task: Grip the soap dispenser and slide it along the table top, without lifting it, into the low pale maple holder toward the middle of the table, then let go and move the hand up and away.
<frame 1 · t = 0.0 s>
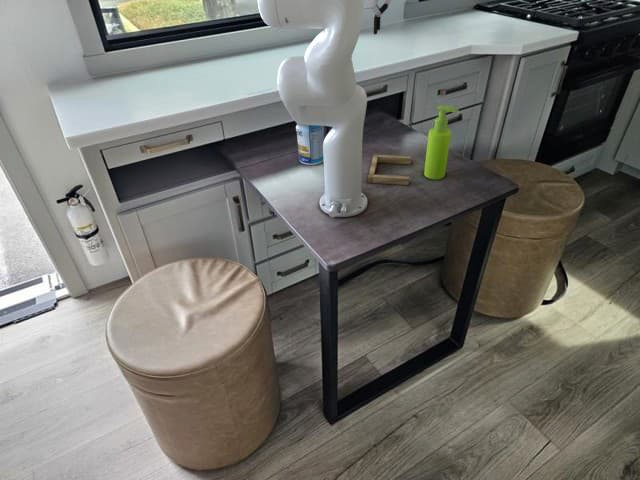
hand: (356, 33, 110), 37 cm above the table, tool pointing down, fingers open, 9 cm apart
blue labeled canister: (312, 160, 135), on the table
soap dispenser: (436, 175, 124), on the table
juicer: (340, 137, 148), on the table
holder: (389, 172, 126), on the table
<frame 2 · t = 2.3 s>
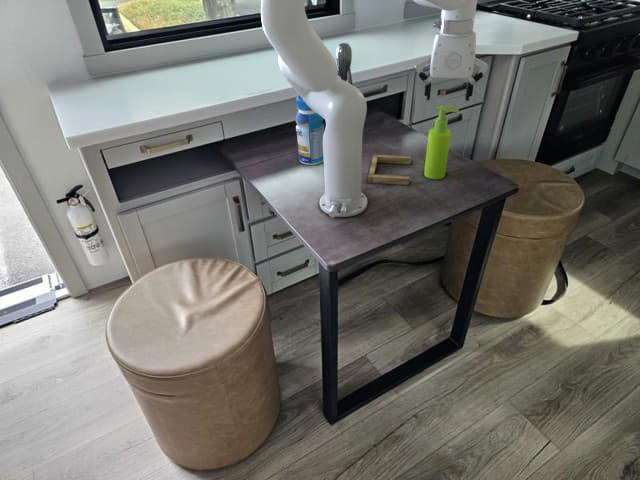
hand: (447, 98, 110), 22 cm above the table, tool pointing down, fingers open, 9 cm apart
nothing on the table moved.
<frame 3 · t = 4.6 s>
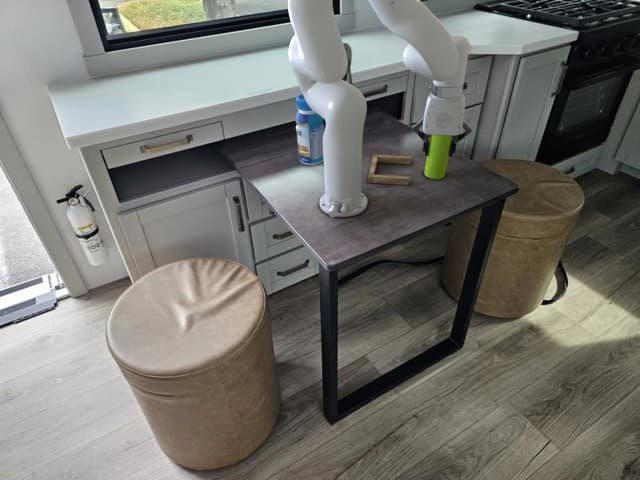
hand: (438, 154, 120), 7 cm above the table, tool pointing down, fingers closed on soap dispenser, 6 cm apart
soap dispenser: (436, 175, 124), on the table, touching gripper
everything else where it was.
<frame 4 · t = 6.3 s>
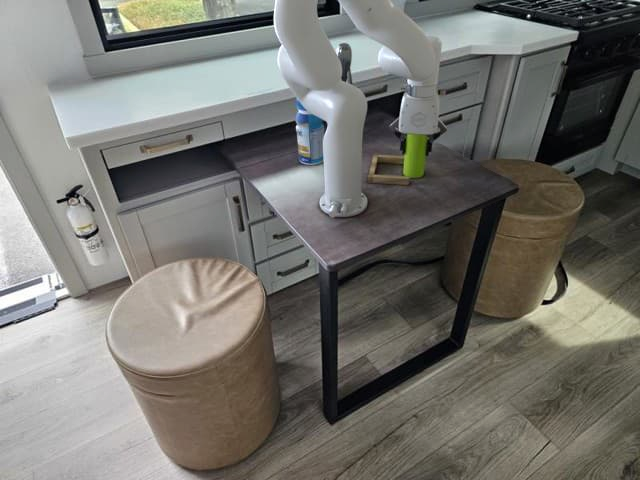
hand: (415, 152, 121), 7 cm above the table, tool pointing down, fingers closed on soap dispenser, 6 cm apart
soap dispenser: (415, 174, 125), on the table, touching gripper
everything else where it was.
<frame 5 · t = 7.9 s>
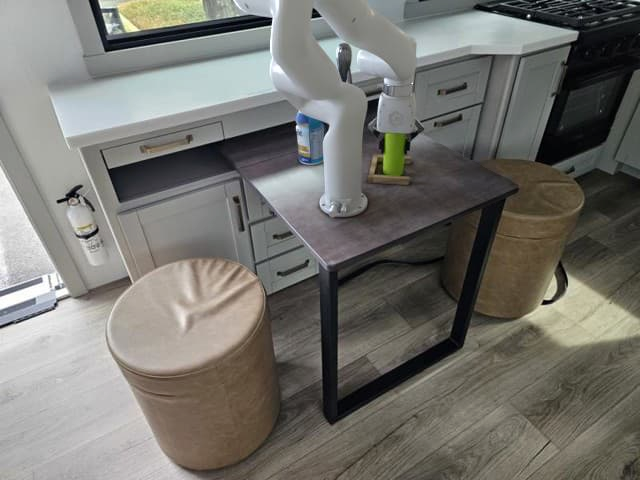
hand: (394, 151, 122), 7 cm above the table, tool pointing down, fingers closed on soap dispenser, 6 cm apart
soap dispenser: (394, 172, 126), on the table, touching gripper
everything else where it was.
when the fingers open (7 cm above the table, at t = 8.5 s): soap dispenser stays where it is, on the table.
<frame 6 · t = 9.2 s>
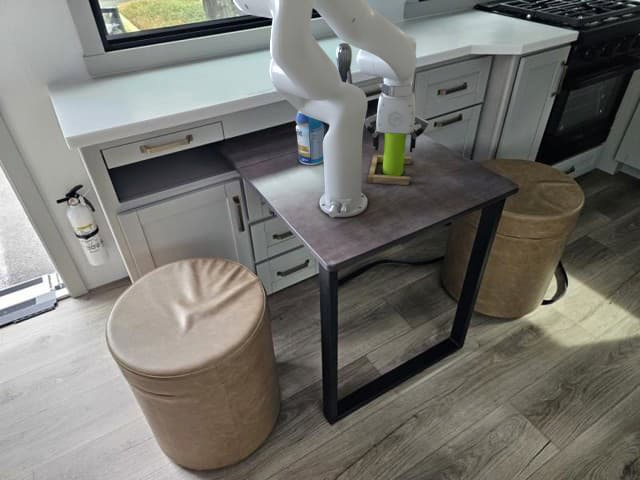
hand: (393, 149, 122), 7 cm above the table, tool pointing down, fingers open, 9 cm apart
soap dispenser: (394, 172, 126), on the table
everything else where it was.
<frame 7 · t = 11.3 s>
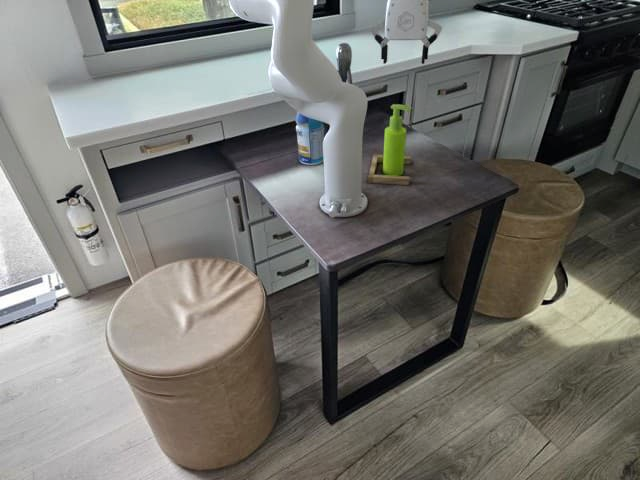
hand: (403, 62, 111), 30 cm above the table, tool pointing down, fingers open, 9 cm apart
nothing on the table moved.
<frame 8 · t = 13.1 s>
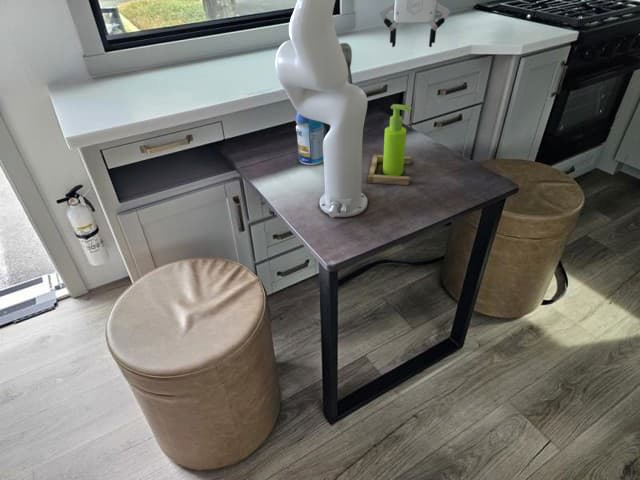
hand: (411, 45, 114), 32 cm above the table, tool pointing down, fingers open, 9 cm apart
nothing on the table moved.
at the end: soap dispenser inside the target area on the holder (0.4 cm from its centre), point 0.0 cm above the holder's base; soap dispenser tilted 0°; the gripper is holding nothing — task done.
